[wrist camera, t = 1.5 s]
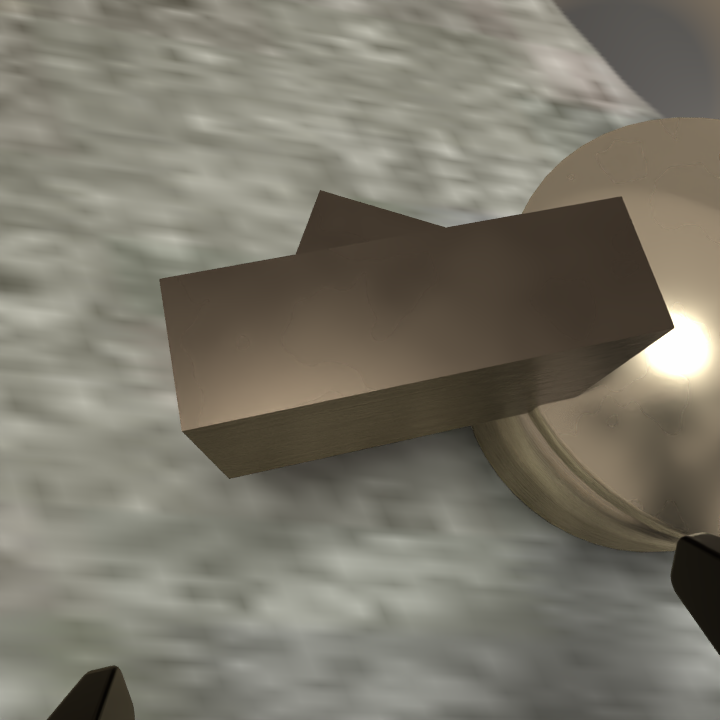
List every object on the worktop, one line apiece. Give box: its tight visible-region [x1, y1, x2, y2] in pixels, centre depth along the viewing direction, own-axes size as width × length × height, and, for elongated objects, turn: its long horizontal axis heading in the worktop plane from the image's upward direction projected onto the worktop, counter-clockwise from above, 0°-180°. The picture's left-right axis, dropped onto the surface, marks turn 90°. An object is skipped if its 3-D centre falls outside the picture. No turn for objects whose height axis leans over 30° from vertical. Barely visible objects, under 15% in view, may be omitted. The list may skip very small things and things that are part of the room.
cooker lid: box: [159, 118, 720, 539], centre depth 16 cm, size 22×13×6 cm, turn 103°
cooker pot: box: [296, 190, 679, 552], centre depth 23 cm, size 20×13×6 cm, turn 73°
